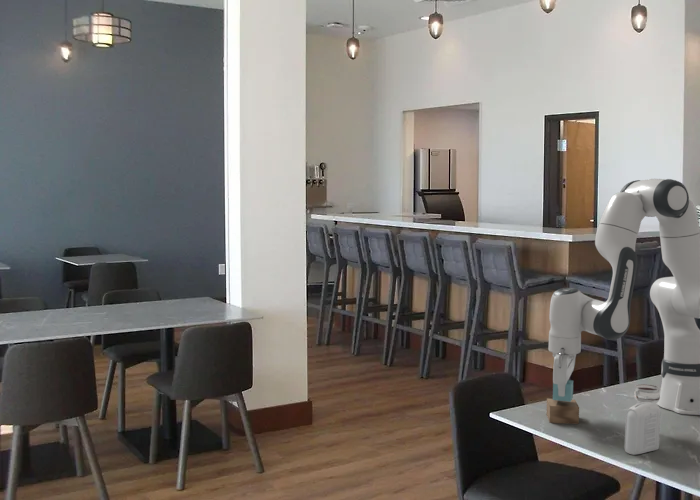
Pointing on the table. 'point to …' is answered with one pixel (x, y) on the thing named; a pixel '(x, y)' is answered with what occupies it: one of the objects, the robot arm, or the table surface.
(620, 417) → the table surface
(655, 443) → the white plastic bottle
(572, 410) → the walnut block
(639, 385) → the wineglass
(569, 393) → the teal cube
